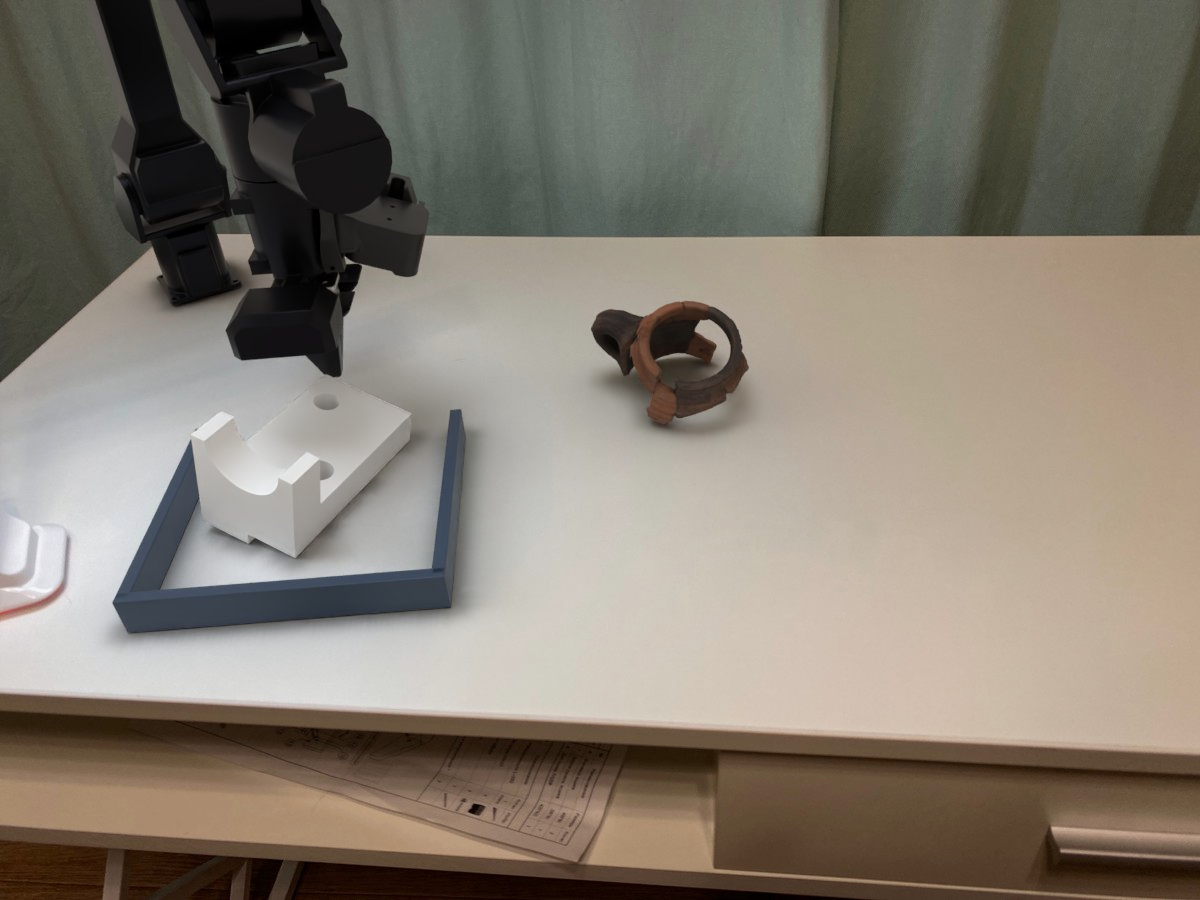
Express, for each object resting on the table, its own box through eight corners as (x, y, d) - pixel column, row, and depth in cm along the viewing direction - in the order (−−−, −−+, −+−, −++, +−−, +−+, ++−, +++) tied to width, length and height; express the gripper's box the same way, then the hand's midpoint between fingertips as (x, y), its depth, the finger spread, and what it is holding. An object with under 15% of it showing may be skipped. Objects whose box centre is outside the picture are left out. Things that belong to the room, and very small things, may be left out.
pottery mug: (749, 363, 74) (770, 309, 67) (711, 467, 71) (730, 422, 63) (607, 313, 76) (612, 254, 68) (563, 412, 72) (563, 362, 65)
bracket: (295, 567, 59) (292, 484, 54) (202, 520, 60) (190, 434, 55) (408, 449, 68) (414, 369, 63) (326, 410, 70) (325, 328, 65)
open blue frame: (206, 456, 67) (195, 428, 66) (466, 436, 68) (461, 408, 66) (127, 633, 54) (111, 603, 53) (451, 607, 54) (444, 576, 53)
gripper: (393, 217, 52) (437, 443, 61) (421, 108, 66) (453, 304, 76) (188, 233, 51) (264, 457, 61) (262, 120, 66) (314, 315, 76)
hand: (335, 375), depth 68 cm, fingers closed
